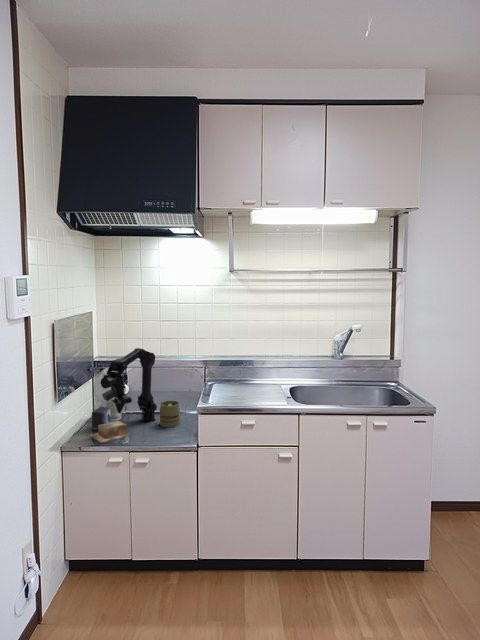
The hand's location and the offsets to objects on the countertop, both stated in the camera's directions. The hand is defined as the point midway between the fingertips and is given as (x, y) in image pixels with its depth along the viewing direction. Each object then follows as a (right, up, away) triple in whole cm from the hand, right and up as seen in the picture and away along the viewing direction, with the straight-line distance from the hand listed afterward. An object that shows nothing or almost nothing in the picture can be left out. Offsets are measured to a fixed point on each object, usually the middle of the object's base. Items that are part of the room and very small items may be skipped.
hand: (119, 413), depth 250 cm
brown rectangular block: (+1, -8, +2) cm, 8 cm away
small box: (-12, -10, +10) cm, 19 cm away
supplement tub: (-10, -9, +25) cm, 29 cm away
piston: (+24, -10, +16) cm, 31 cm away
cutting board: (-5, -12, -3) cm, 13 cm away
